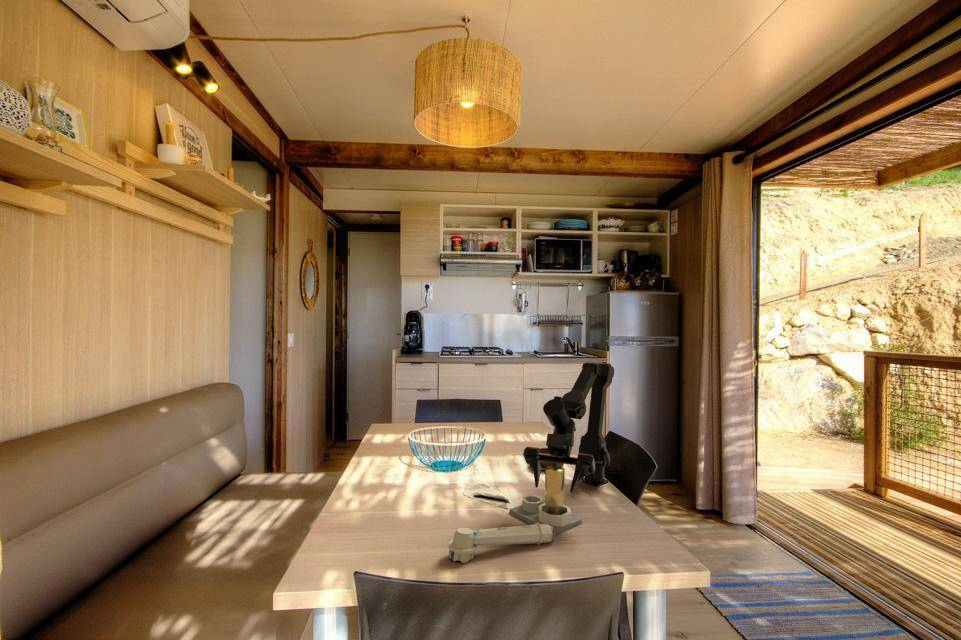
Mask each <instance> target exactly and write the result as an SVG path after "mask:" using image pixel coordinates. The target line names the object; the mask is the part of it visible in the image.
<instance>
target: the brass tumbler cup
mask: <svg viewBox="0 0 961 640" xmlns="http://www.w3.org/2000/svg"><path fill="white" fill-rule="evenodd" d="M565 470H566V469H565V468H564V466H563V467H560V466H547V467H546V468H545V470H544V493H545V494H544V502H545V512H546V513H548V514H550V515H562V514H564V505H565V492H566V491H565V490H566V489H565V487H566V485H565V478H566V477H565V474H566V471H565Z"/></svg>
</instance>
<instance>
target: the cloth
mask: <svg viewBox="0 0 961 640" xmlns="http://www.w3.org/2000/svg"><path fill="white" fill-rule="evenodd" d="M462 493H463V494H462V495H463V496H464V497H468V498H469V499H471V500H474V501H475V500H476V501H479V502H482V503H484V504H489V505H493V506H496V507H499V508H504V509H506V510H509V509H510V508H509V507H508V505H507V503H505V502H504V501H507V502H508V503H510V500H509V499H508V498H507V497H506V496H505V495H504V494H503V493H502V491H499V490H497V489H496V488H494V487H493V486H491V485H490V484H489V483H488V482H487V481H485V480H484V479H483V480H482V479H477V480H476V479H474V478H472V477H471V478H470V480H469V482H467V485H466V486H465V488H464V491H463V492H462Z"/></svg>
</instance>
